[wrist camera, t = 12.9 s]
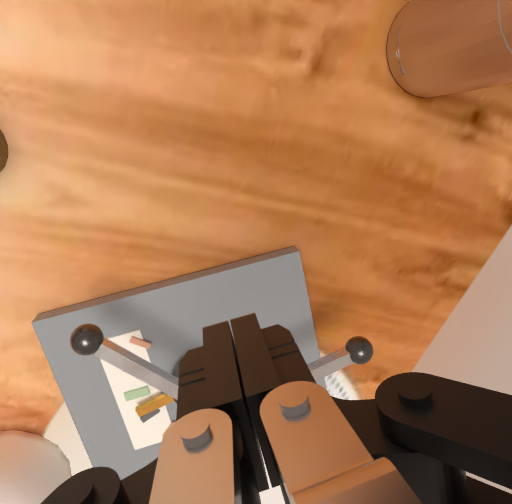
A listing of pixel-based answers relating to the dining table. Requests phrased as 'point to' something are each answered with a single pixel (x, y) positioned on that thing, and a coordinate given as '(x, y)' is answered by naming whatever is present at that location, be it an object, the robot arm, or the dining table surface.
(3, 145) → the cork
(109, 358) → the capstan
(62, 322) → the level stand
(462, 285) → the dining table surface
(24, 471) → the vase
